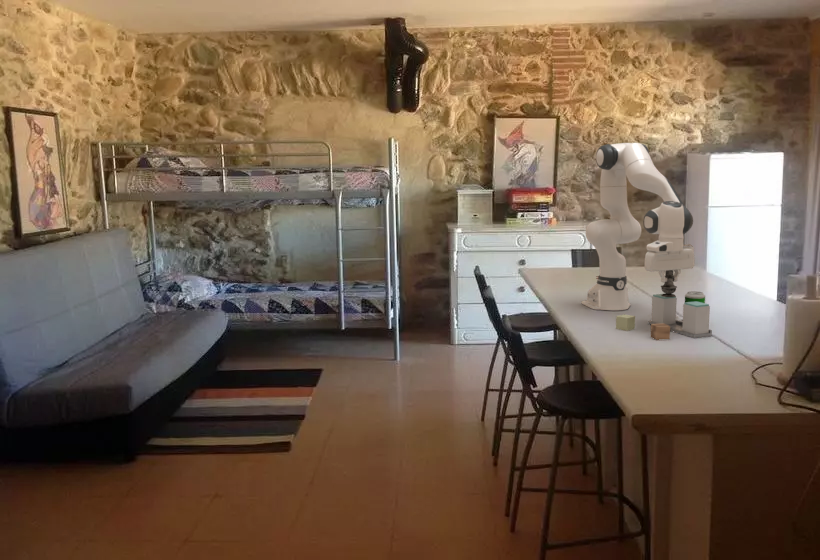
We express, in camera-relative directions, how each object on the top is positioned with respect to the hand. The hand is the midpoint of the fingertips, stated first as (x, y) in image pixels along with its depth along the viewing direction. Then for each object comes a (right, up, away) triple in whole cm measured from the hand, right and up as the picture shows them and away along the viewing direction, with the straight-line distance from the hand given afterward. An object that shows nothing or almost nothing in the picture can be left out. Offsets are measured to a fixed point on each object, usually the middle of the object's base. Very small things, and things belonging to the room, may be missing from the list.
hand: (669, 281), depth 284 cm
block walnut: (-6, -21, -8) cm, 23 cm away
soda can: (+15, -16, +16) cm, 28 cm away
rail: (+5, -18, +4) cm, 19 cm away
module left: (+2, -16, +12) cm, 20 cm away
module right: (+8, -18, -4) cm, 21 cm away
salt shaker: (0, -6, +1) cm, 6 cm away
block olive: (-14, -18, +8) cm, 24 cm away
